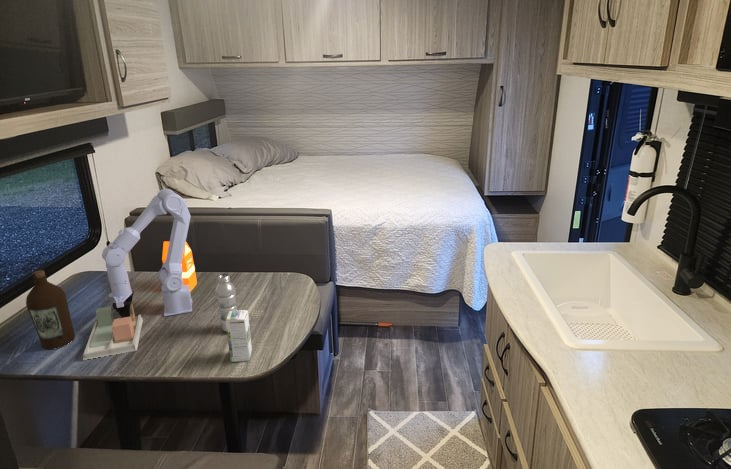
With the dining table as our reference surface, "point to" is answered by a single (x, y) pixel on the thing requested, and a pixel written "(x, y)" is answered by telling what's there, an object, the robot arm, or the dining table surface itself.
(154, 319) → the dining table surface
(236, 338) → the syrup box
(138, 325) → the lane board
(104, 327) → the strip
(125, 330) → the block
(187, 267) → the orange juice
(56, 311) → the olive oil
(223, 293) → the plastic bottle
